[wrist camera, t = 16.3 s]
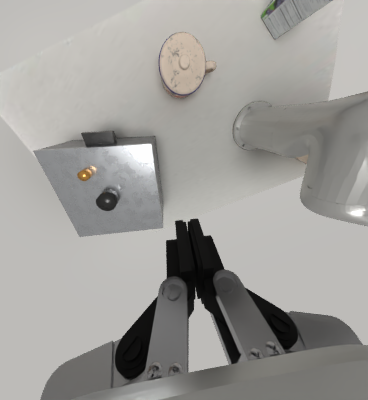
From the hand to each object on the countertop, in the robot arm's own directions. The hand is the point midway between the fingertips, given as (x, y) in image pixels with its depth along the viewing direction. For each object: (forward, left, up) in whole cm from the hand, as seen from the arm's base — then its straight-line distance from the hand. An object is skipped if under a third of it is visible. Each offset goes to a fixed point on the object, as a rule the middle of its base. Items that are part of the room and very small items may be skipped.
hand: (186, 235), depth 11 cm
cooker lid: (+15, +8, -25) cm, 30 cm away
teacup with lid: (-5, -16, -37) cm, 41 cm away
